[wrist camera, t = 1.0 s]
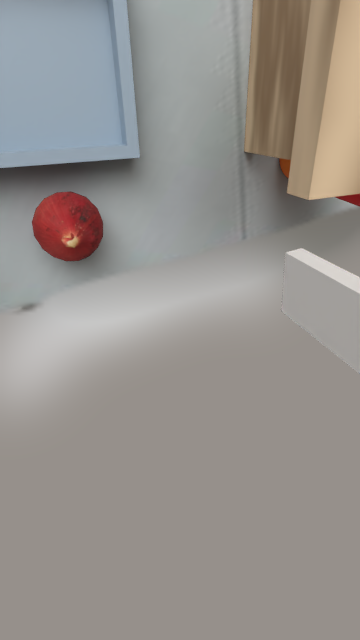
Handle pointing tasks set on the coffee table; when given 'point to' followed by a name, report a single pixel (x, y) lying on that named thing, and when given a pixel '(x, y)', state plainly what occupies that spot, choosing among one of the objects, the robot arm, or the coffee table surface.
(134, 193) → the coffee table surface
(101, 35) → the tray
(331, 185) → the wooden l-shaped bracket
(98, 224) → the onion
